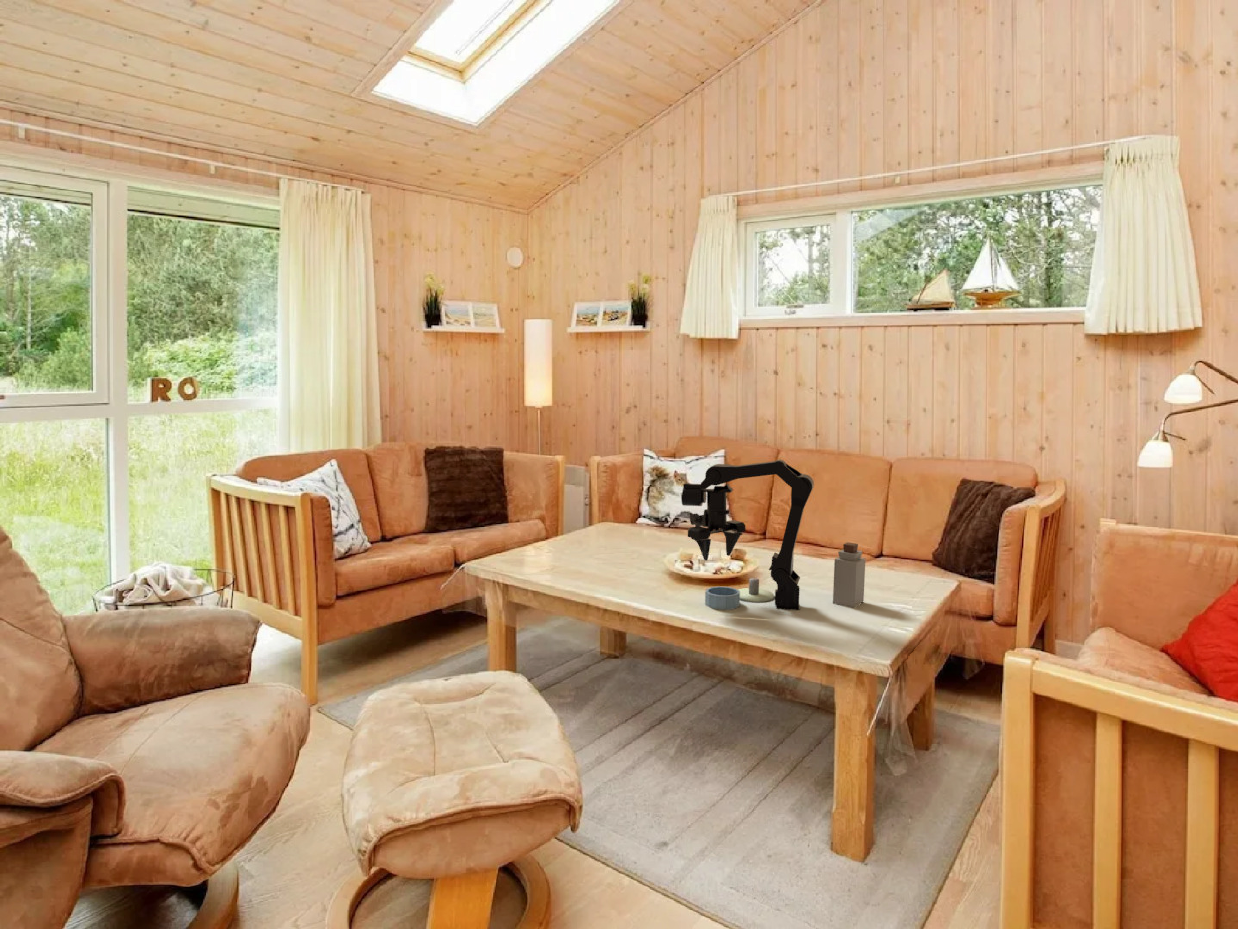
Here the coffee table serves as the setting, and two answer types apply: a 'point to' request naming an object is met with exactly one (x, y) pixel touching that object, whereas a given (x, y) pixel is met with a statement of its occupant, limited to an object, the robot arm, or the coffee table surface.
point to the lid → (755, 592)
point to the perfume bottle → (849, 576)
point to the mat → (760, 602)
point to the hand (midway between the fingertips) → (717, 557)
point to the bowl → (722, 598)
